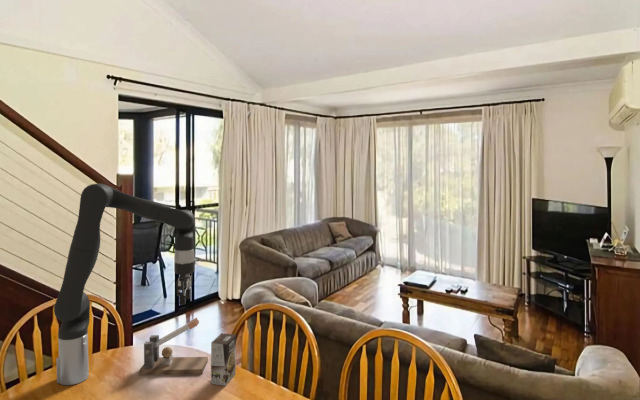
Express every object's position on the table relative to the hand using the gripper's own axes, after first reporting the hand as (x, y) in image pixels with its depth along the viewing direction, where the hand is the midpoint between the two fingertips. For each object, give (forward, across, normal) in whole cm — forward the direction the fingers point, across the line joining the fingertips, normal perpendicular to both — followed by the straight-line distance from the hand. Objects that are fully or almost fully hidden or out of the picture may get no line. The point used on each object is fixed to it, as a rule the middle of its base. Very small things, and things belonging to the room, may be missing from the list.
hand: (184, 301), depth 151 cm
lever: (+15, 0, -4) cm, 15 cm away
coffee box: (+28, +8, +17) cm, 34 cm away
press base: (+27, 0, -4) cm, 28 cm away
